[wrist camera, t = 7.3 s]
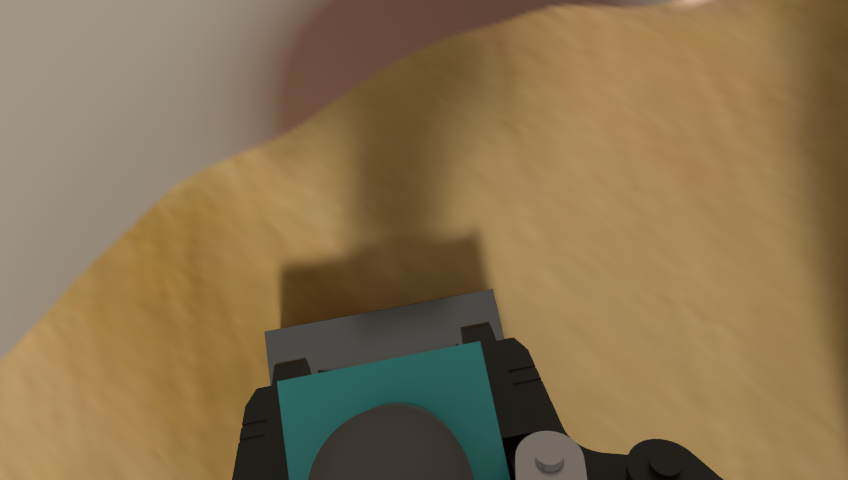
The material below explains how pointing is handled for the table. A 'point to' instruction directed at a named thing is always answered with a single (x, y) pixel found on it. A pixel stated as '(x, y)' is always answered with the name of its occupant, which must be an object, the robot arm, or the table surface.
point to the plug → (395, 420)
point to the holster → (382, 333)
